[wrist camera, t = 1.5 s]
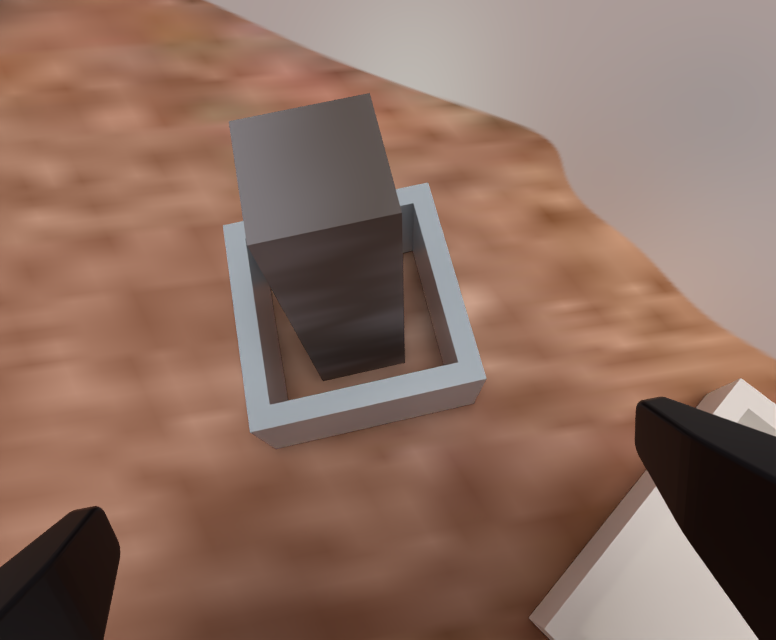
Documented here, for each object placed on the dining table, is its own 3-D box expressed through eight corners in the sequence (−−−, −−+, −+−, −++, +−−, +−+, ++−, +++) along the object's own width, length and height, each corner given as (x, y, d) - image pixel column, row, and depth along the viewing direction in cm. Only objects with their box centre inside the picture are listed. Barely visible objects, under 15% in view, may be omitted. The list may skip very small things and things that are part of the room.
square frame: (275, 448, 23) (250, 432, 19) (249, 270, 26) (222, 225, 22) (473, 403, 23) (486, 378, 19) (425, 232, 26) (427, 182, 22)
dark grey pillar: (322, 381, 24) (247, 245, 12) (309, 305, 25) (228, 121, 14) (404, 362, 24) (401, 212, 13) (386, 288, 25) (369, 93, 14)
